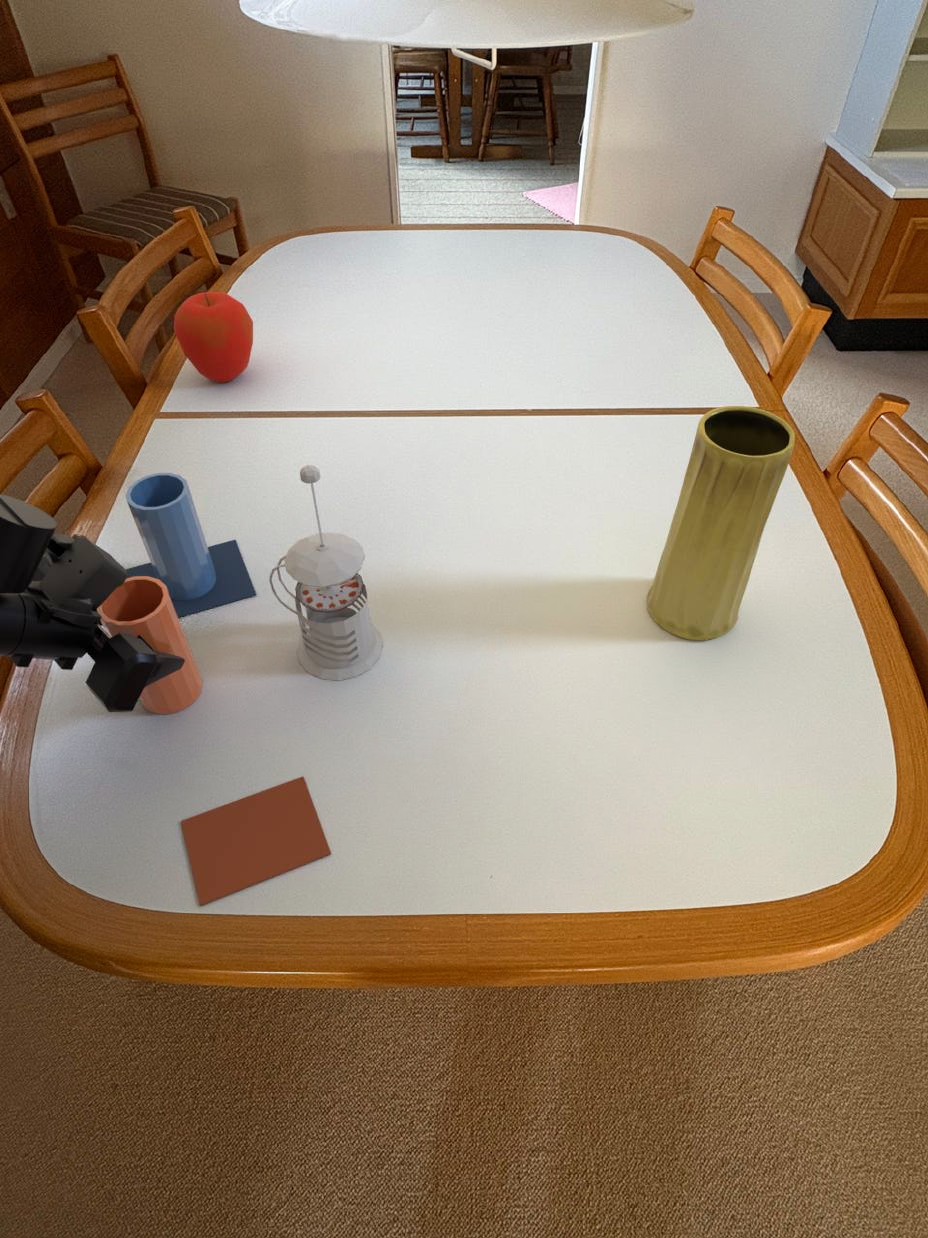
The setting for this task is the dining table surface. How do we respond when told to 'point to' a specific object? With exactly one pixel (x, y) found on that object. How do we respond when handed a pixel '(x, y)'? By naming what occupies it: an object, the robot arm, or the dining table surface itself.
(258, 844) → the clay pad
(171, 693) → the terracotta tumbler
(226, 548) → the blue pad
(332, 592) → the french press
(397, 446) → the dining table surface
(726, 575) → the vase
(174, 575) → the blue tumbler
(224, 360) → the apple
